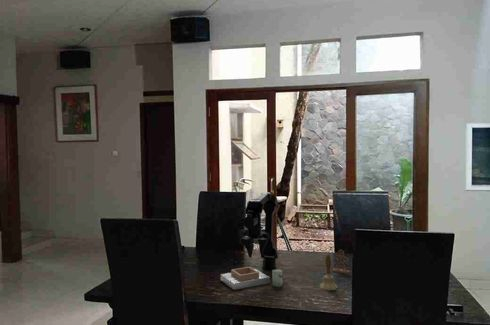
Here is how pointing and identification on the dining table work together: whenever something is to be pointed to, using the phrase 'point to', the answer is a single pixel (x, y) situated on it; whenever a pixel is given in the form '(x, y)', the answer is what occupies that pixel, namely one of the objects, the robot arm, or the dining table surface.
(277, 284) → the spout can
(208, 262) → the dining table surface
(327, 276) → the hand bell
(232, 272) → the grey board with frame
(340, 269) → the gingerbread man figurine
